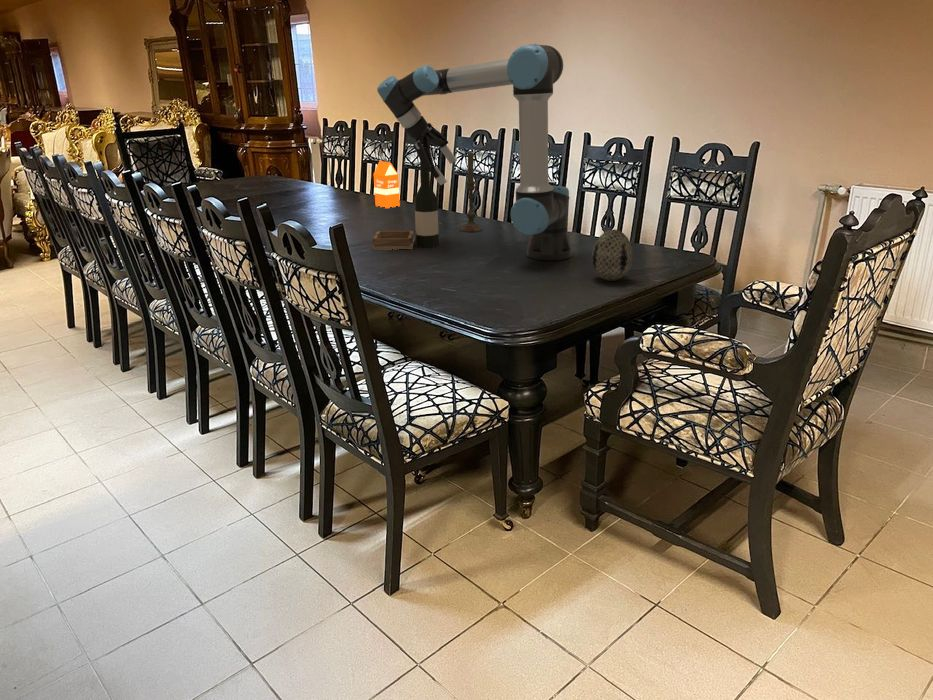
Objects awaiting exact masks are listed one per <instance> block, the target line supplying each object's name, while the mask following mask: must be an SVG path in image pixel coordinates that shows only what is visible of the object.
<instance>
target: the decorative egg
mask: <svg viewBox="0 0 933 700" xmlns="http://www.w3.org/2000/svg"><path fill="white" fill-rule="evenodd" d="M633 257H634V256H633V248H632V245H631V242H630V240H629V238H628V237H627V236H626V234H625V233H624V232H622V231H621V230H618V229H609V230H606V231H604V232H603V233H602V234H601V235H599V237H598V238H597V239H596V241H595V243H594V246H593V249H592V252H591V265H592V269H593V271H594V273H595V274H596V276H598V277H599V278H600V279H602V280H604V281H608V282H613V281H618V280H620V279H622V278H624V276H626V275H627V274H628V272H629V271H630V269H631V266H632V263H633Z"/></svg>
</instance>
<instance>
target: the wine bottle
mask: <svg viewBox="0 0 933 700" xmlns="http://www.w3.org/2000/svg"><path fill="white" fill-rule="evenodd" d="M419 172H420V173H419V174H420V177H419V178H420V187H419V189H418V191H417V193H416V194H415V196H414V219H415V220H414V221H415V245H416V244H417V245H416V246H417V247H418V246H422V247H421V248H424V247H425V248H434V247H433V246H435V247H437V246H436V245H438V246H439V243H440V241H439V210H438V209H439V206H438V202H439V201H438V197H437V195H436V194H435V191H434V190H433V189H432V187H431V172H430V171H428V172H425V171H424V168H423V166H422V164H421V161H419Z"/></svg>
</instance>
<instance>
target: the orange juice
mask: <svg viewBox="0 0 933 700" xmlns="http://www.w3.org/2000/svg"><path fill="white" fill-rule="evenodd" d="M399 183H400V182H399V173H398V172H397V171H396V169H395V167H394V166H393V164H392V163H391V162H388V161H383V160H380V161H378V164H377V165H376V168H375V170H374V172H373V184H374V186H373V187H374V189H373V190H374V200H375V201H374V202H375V207H378V206H380V207H379V208H382V207H385V208H384V209H390V207H392V208H396V206H398V207H400V206H401V201H400V187H399V186H400V184H399Z"/></svg>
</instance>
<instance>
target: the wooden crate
mask: <svg viewBox="0 0 933 700" xmlns="http://www.w3.org/2000/svg"><path fill="white" fill-rule="evenodd" d="M414 233H415V232H414V231H413V230H378V231H376V232H375V234H374V236H373V238H372V243H373V244H372V245H371V251H400V250H399V249H412V250H413V248H414V245H415V242H416V236H414V235H415V234H414ZM414 241H415V242H414ZM392 249H393V250H392ZM397 249H398V250H397Z"/></svg>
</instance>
